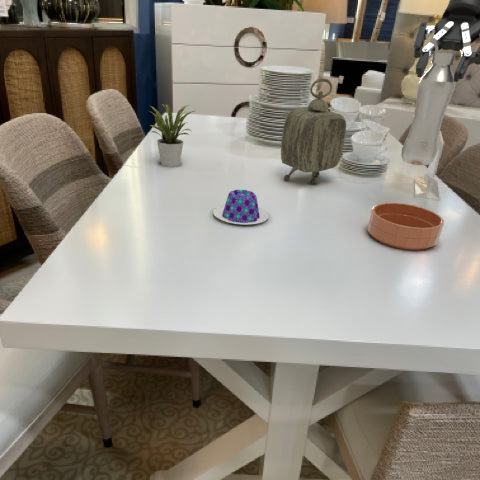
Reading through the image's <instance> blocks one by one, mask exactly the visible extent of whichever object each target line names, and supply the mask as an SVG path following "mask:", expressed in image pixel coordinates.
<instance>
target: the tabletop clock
mask: <svg viewBox="0 0 480 480" xmlns="http://www.w3.org/2000/svg"><path fill="white" fill-rule="evenodd" d="M318 83H326V84H328V85H329V91H328V92H326V93H324V92H323V91H322V90H320V91H318V94H316V93H314V92H313V88H314V86H315V85H316V84H318ZM332 90H333V85H332V82H331V80H329V79H328V78H318V79H316V80H314V81H313V82H312V83H311V86H310V89H309V91H310V94H311V96H312V97H313V98H314V99H312V100H311V101H310V102H309V104H308V107H307V106H306V107H300V108H295V109H292V110H290V111H289V112H287V114H286V117H285V120H284V123H283V127H282V134H281V141H280V142H281V143H280V160H281V163H282V164H284V165H286V166H289V167H290V168H291V170H290V171H289V173H287V174H285V175H283V180H284V181H285V182H288V181H289V180H290V179H291V175H292V174H293V173H295V172H297V171H300V172H302V173H311V177H312V178H310V184H311V185H316V184H317V178H315V177H319V176H320V172H323V171H327V170H330V169H334V168H335V167H337V166H338V165H339V163H340V161H341V158H342V154H343V148H344V144H345V139H346V131H347V122H346V119H345V117H344V115H342V114H341V113H337V112H333V111H330V110H329V104H328V102H327V100H325V99H324V98H326V97H328V96H329V95H330V94H331V92H332Z"/></svg>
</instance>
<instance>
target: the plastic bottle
mask: <svg viewBox="0 0 480 480" xmlns="http://www.w3.org/2000/svg"><path fill="white" fill-rule="evenodd" d="M455 59H456V52H447V51H440V52H434V55H433V56H432V59H431V61H430V64H432V65H431V67H430V68H428V70H427V71H426V72H424V73H423V75H422V77H421V78H420V80H419V82H418V85H417V92H416V99H415V100H416V102H415V107H414V112H413V113H414V115H413V117H412V122H411V124H410V127H409V130H408V133H407V137H406V139H405V140H404V143H403V145H402V148H401V155H400V156H401V160H402V161H403V162H405V163H406V164H410V165H412V166H418V167H419V166H428V165H431V164H432V163H433V162H434V160H435V159H436V156H437V153H438V147H439V146H438V145H439V143H438V141H439V137H440V132H441V127H442V123H443V120H444V117H445V114H446V112H447V108H448V106H449V104H450V102H451V99H452V97H453V95H454V92H455V89H456V85H457V84H456V83H457V82H454V73H453V72H454V71H453V69H452V66H454V64H455Z"/></svg>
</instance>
